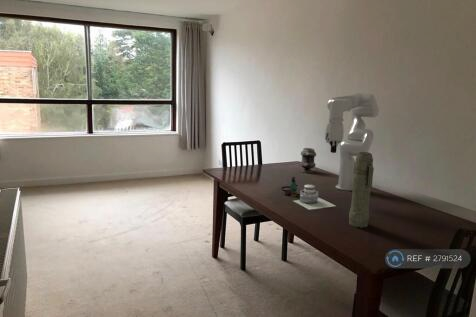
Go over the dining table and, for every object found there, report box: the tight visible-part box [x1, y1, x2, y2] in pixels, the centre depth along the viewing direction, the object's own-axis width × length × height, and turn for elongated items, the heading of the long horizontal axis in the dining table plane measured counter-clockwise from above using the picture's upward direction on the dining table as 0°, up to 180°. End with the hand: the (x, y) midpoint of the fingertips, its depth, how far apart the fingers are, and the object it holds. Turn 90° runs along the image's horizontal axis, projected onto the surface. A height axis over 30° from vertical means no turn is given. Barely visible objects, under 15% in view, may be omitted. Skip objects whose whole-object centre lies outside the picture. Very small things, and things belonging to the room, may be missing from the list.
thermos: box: [348, 151, 375, 229], centre depth 168 cm, size 9×12×35 cm
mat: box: [293, 197, 336, 211], centre depth 200 cm, size 18×16×1 cm
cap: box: [303, 184, 316, 194], centre depth 202 cm, size 6×6×5 cm
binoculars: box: [280, 176, 299, 197], centre depth 216 cm, size 9×11×10 cm
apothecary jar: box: [299, 147, 317, 174], centre depth 276 cm, size 12×12×18 cm
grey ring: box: [299, 189, 319, 204], centre depth 203 cm, size 10×10×6 cm
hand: (333, 152), depth 209 cm, fingers closed
